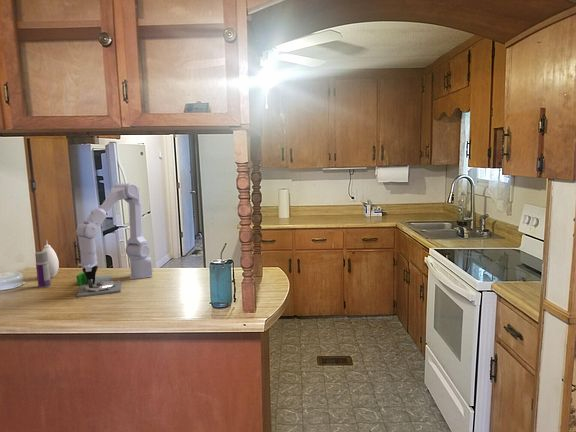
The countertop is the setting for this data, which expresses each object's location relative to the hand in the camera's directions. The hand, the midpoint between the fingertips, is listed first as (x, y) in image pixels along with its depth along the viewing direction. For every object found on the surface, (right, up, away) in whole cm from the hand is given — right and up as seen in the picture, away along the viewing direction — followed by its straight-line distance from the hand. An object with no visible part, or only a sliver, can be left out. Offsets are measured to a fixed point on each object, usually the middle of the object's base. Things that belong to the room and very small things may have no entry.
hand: (91, 284), depth 169 cm
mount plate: (+2, -3, +2) cm, 4 cm away
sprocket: (+2, -3, +2) cm, 4 cm away
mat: (-3, -1, +16) cm, 16 cm away
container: (-25, -3, +9) cm, 27 cm away
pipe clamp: (-8, -1, +14) cm, 16 cm away
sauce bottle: (-30, -1, +23) cm, 38 cm away
